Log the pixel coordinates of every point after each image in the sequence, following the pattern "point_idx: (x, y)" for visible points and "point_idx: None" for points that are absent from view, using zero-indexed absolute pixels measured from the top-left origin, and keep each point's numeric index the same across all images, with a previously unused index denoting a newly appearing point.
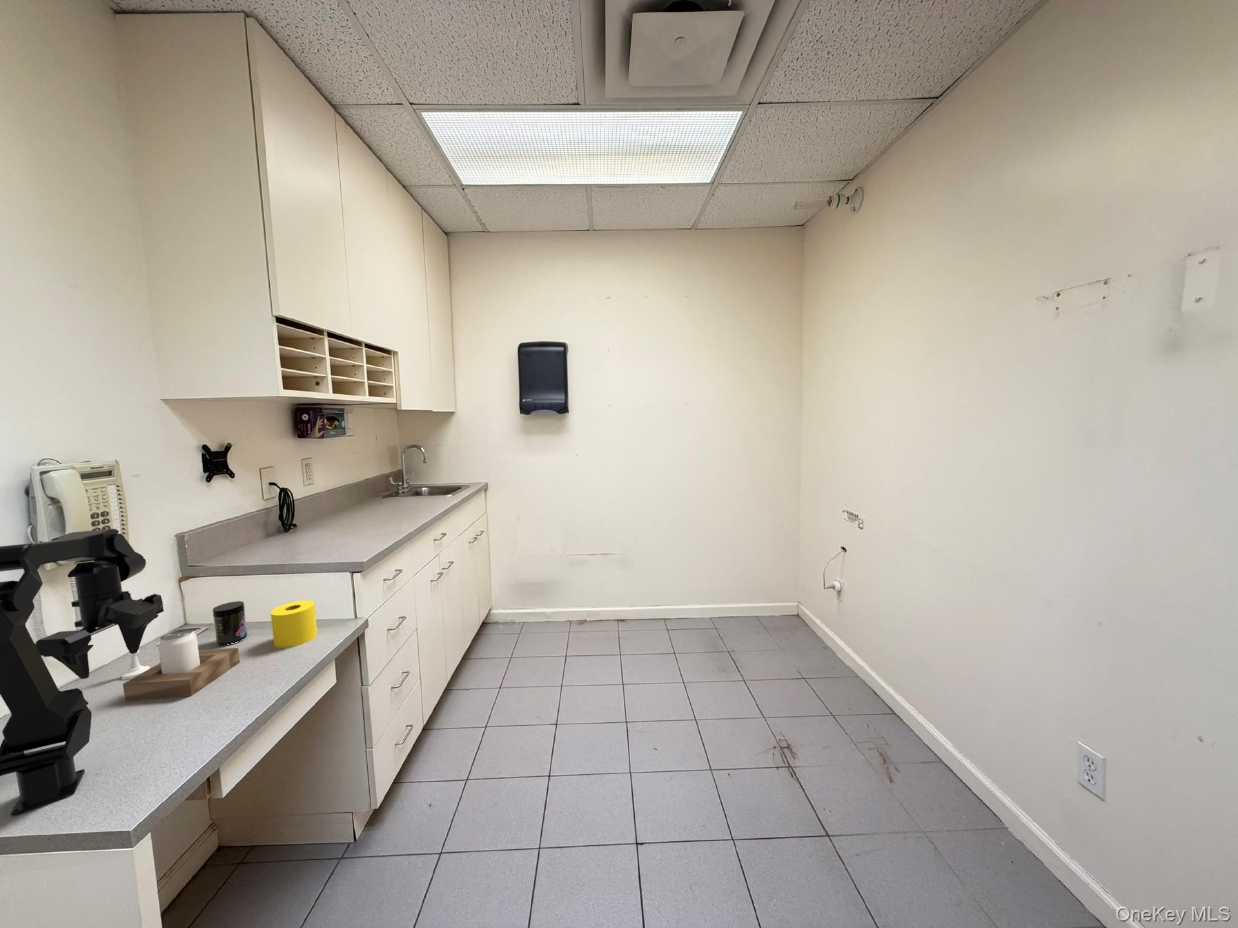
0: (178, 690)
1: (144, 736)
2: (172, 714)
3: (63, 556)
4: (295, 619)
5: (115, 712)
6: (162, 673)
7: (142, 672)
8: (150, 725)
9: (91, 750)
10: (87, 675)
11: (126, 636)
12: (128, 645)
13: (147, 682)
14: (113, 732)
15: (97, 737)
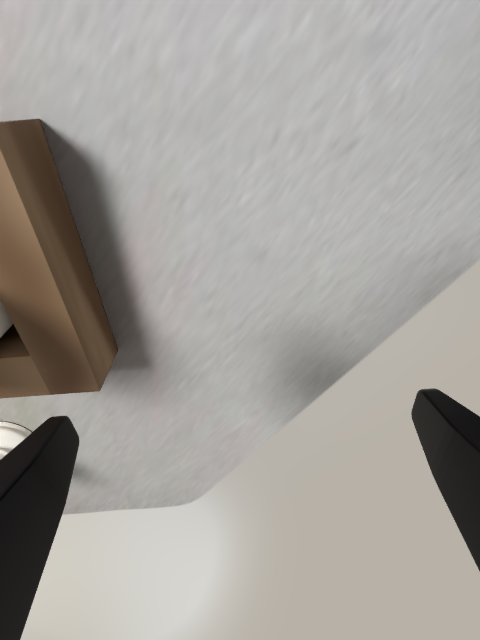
0: (46, 183)
1: (320, 30)
2: (171, 62)
3: None
4: None
5: (173, 318)
6: (1, 330)
7: (1, 428)
8: (245, 93)
9: (367, 185)
10: (444, 399)
11: (1, 633)
12: (51, 514)
13: (71, 319)
14: (275, 212)
15: (296, 240)
